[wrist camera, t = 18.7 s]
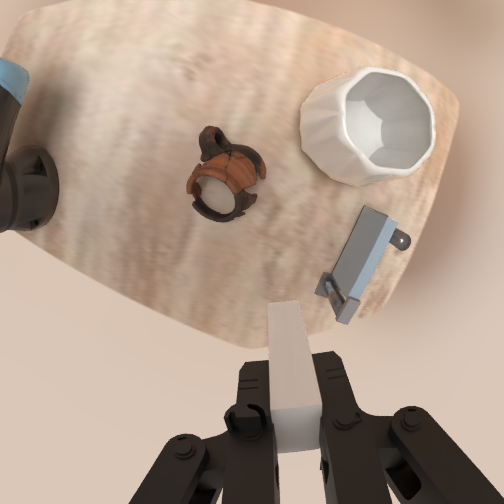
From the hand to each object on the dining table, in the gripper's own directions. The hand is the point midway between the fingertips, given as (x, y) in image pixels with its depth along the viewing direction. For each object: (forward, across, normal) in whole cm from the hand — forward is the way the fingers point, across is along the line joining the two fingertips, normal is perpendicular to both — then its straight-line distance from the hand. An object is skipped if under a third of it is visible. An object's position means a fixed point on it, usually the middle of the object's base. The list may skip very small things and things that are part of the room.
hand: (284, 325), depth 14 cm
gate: (+26, +11, -6) cm, 29 cm away
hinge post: (+26, +8, -11) cm, 30 cm away
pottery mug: (+27, -5, +7) cm, 28 cm away
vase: (+27, +12, +11) cm, 31 cm away
